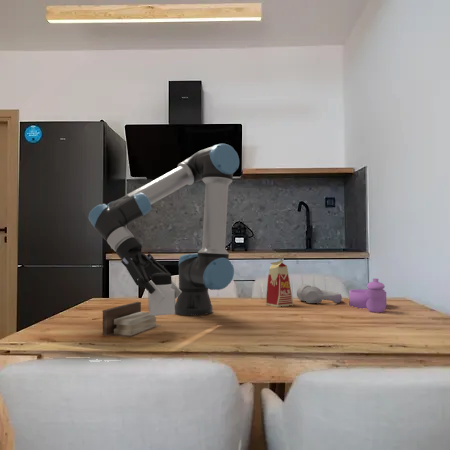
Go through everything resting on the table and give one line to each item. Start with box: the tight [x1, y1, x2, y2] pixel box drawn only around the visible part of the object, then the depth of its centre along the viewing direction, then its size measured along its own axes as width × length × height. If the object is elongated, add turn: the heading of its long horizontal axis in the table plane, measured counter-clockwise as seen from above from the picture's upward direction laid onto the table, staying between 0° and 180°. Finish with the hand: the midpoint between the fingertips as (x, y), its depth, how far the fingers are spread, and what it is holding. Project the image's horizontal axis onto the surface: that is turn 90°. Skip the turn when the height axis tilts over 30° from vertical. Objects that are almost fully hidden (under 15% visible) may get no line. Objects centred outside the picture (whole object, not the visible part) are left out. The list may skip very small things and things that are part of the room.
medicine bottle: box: [147, 272, 176, 317], centre depth 123 cm, size 7×7×12 cm
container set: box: [348, 278, 387, 314], centre depth 173 cm, size 25×15×13 cm, turn 174°
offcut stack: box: [114, 311, 157, 335], centre depth 126 cm, size 6×14×4 cm, turn 159°
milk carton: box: [265, 259, 294, 308], centre depth 181 cm, size 9×9×20 cm
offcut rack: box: [102, 301, 162, 338], centre depth 126 cm, size 10×18×8 cm, turn 159°
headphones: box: [296, 284, 343, 304], centre depth 190 cm, size 18×8×20 cm
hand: (170, 297), depth 121 cm, fingers closed on medicine bottle, 10 cm apart
